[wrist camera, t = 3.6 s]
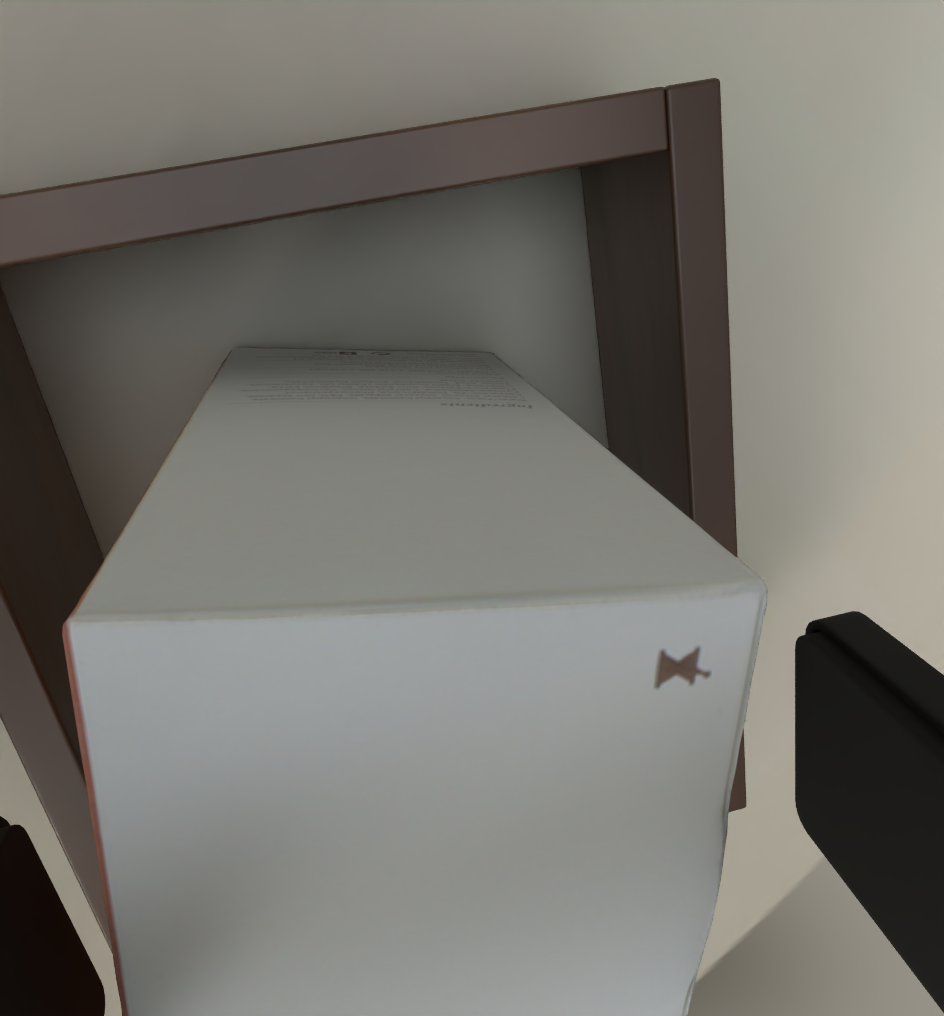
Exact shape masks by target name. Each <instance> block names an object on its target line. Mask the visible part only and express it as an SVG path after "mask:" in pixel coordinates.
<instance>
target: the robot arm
mask: <svg viewBox="0 0 944 1016" xmlns="http://www.w3.org/2000/svg"><path fill="white" fill-rule="evenodd" d="M795 801H796V808H797V812H798V815H799V818H800V821H801V823H802V825H803V827H804V829H805V830H806V832H807V833H808V835H809V836H810V837H811V839H812V840H813V841H814V842H815V844H816V845H817V846H818V848H819V849H820V850H821V852H822V853H823V854H824V856H825V857H826V858H827V860H828V861H829V862H830V864H831V865H832V866H833V868H834V869H835V870H836V871H837V873H838V874H839V875H840V877H841V878H842V879H843V881H844V882H845V883H846V885H847V886H848V887H849V888H850V890H851V891H852V893H853V894H854V895H855V897H856V898H857V899H858V900H859V902H860V903H861V904H862V906H863V907H864V908H865V910H866V911H867V912H868V913H869V915H870V916H871V917H872V919H873V920H874V922H875V923H876V924H877V925H878V927H879V928H880V929H881V931H882V932H883V933H884V935H885V936H886V937H887V939H888V940H889V941H890V942H891V944H892V945H893V947H894V948H895V949H896V951H897V952H898V953H899V954H900V956H901V957H902V958H903V960H904V961H905V962H906V964H907V965H908V966H909V968H910V969H911V970H912V971H913V973H914V974H915V976H916V977H917V978H918V980H919V981H920V982H921V983H922V985H923V986H924V987H925V989H926V990H927V991H928V993H929V994H930V995H931V996H932V998H933V999H934V1001H935V1002H936V1003H937V1005H938V1006H939V1007H940V1008H941V1010H942V1011H943V1012H944V675H943V674H941V673H940V672H939V671H937V670H936V669H935V668H933V667H932V666H931V665H930V664H928V663H927V662H926V661H924V660H923V659H922V658H920V657H919V656H918V655H916V654H915V653H914V652H913V651H911V650H910V649H909V648H907V647H906V646H905V645H903V644H902V643H901V642H900V641H898V640H897V639H896V638H894V637H893V636H892V635H890V634H889V633H888V632H886V631H885V630H884V629H883V628H881V627H880V626H879V625H877V624H876V623H875V622H873V621H872V620H871V619H870V618H868V617H867V616H866V615H864V614H862V613H860V612H855V611H852V612H848V613H844V614H839V615H835V616H831V617H827V618H823V619H819V620H814V621H812V622H810V623H809V624H808V626H807V628H806V634H805V635H803V636H800V637H799V638H798V639H797V641H796V646H795ZM104 1013H105V994H104V988H103V985H102V982H101V980H100V978H99V976H98V974H97V972H96V970H95V968H94V966H93V964H92V962H91V960H90V958H89V956H88V954H87V952H86V950H85V948H84V946H83V944H82V942H81V940H80V938H79V936H78V934H77V932H76V930H75V928H74V926H73V924H72V922H71V920H70V918H69V916H68V914H67V912H66V910H65V908H64V906H63V904H62V902H61V900H60V898H59V896H58V894H57V892H56V890H55V888H54V886H53V884H52V882H51V880H50V878H49V876H48V874H47V872H46V870H45V868H44V866H43V864H42V862H41V860H40V858H39V856H38V854H37V852H36V849H35V847H34V845H33V843H32V841H31V839H30V837H29V835H28V833H27V832H26V830H25V829H24V828H23V827H22V826H20V825H11V826H10V824H9V823H8V821H7V820H5V819H4V818H3V817H1V816H0V1016H104Z"/></svg>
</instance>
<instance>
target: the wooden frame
mask: <svg viewBox="0 0 944 1016" xmlns="http://www.w3.org/2000/svg"><path fill="white" fill-rule="evenodd" d="M577 167H581V169H582V180H583V190H584V200H585V210H586V220H587V230H588V240H589V250H590V260H591V270H592V280H593V290H594V300H595V310H596V320H597V330H598V340H599V351H600V361H601V371H602V381H603V391H604V401H605V411H606V421H607V431H608V441H609V451H610V452H611V453H612V454H613V455H614V456H616V457H617V458H618V459H619V460H620V461H622V462H623V463H624V464H625V465H626V466H628V467H629V468H630V469H631V470H632V471H634V472H635V473H636V474H637V475H638V476H640V477H641V478H642V479H643V480H644V481H646V482H647V483H648V484H649V485H650V486H652V487H653V488H654V489H655V490H656V491H658V492H659V493H660V494H661V495H662V496H664V497H665V498H666V499H667V500H668V501H670V502H671V503H672V504H673V505H674V506H676V507H677V508H678V509H679V510H680V511H682V512H683V513H684V514H685V515H686V516H688V517H689V518H690V519H691V520H692V521H694V522H695V523H696V524H697V525H698V526H699V527H701V528H702V529H703V530H704V531H705V532H706V533H708V534H709V535H710V536H711V537H712V538H713V539H715V540H716V541H717V542H718V543H719V544H720V545H722V546H723V547H724V548H725V549H726V550H728V551H729V552H730V553H732V554H733V555H734V556H735V557H737V536H736V509H735V481H734V454H733V426H732V399H731V371H730V344H729V316H728V289H727V261H726V234H725V206H724V179H723V151H722V124H721V96H720V81H719V79H717V78H711V79H705V80H699V81H693V82H687V83H681V84H675V85H669V86H666V87H656V88H650V89H643V90H637V91H631V92H625V93H619V94H613V95H607V96H601V97H595V98H589V99H583V100H577V101H570V102H564V103H558V104H552V105H546V106H540V107H534V108H528V109H522V110H516V111H510V112H504V113H497V114H491V115H485V116H479V117H473V118H467V119H461V120H455V121H449V122H443V123H437V124H431V125H424V126H418V127H412V128H406V129H400V130H394V131H388V132H382V133H376V134H370V135H364V136H357V137H351V138H345V139H339V140H333V141H327V142H321V143H315V144H309V145H303V146H297V147H291V148H284V149H278V150H272V151H266V152H260V153H254V154H248V155H242V156H236V157H230V158H224V159H218V160H211V161H205V162H199V163H193V164H187V165H181V166H175V167H169V168H163V169H157V170H151V171H145V172H138V173H132V174H126V175H120V176H114V177H108V178H102V179H96V180H90V181H84V182H78V183H72V184H65V185H59V186H53V187H47V188H41V189H35V190H29V191H23V192H17V193H11V194H5V195H0V268H3V267H8V266H14V265H20V264H26V263H31V262H37V261H43V260H49V259H54V258H60V257H66V256H72V255H77V254H83V253H89V252H95V251H100V250H106V249H112V248H117V247H123V246H129V245H135V244H140V243H146V242H152V241H158V240H163V239H169V238H175V237H181V236H186V235H192V234H198V233H204V232H209V231H215V230H221V229H227V228H232V227H238V226H244V225H250V224H255V223H261V222H267V221H272V220H278V219H284V218H290V217H295V216H301V215H307V214H313V213H318V212H324V211H330V210H336V209H341V208H347V207H353V206H359V205H364V204H370V203H376V202H382V201H387V200H393V199H399V198H405V197H410V196H416V195H422V194H428V193H433V192H439V191H445V190H450V189H456V188H462V187H468V186H473V185H479V184H485V183H491V182H496V181H502V180H508V179H514V178H519V177H525V176H531V175H537V174H542V173H548V172H554V171H560V170H565V169H571V168H577ZM103 562H104V560H103V558H102V555H101V552H100V550H99V547H98V544H97V542H96V539H95V537H94V534H93V531H92V529H91V526H90V523H89V521H88V518H87V515H86V513H85V510H84V507H83V505H82V502H81V499H80V497H79V494H78V492H77V489H76V486H75V484H74V481H73V478H72V476H71V473H70V470H69V468H68V465H67V462H66V460H65V457H64V455H63V452H62V449H61V447H60V444H59V441H58V439H57V436H56V433H55V431H54V428H53V425H52V423H51V420H50V417H49V415H48V412H47V410H46V407H45V404H44V402H43V399H42V396H41V394H40V391H39V388H38V386H37V383H36V380H35V378H34V375H33V373H32V370H31V367H30V365H29V362H28V359H27V357H26V354H25V351H24V349H23V346H22V343H21V341H20V338H19V336H18V333H17V330H16V328H15V325H14V322H13V320H12V317H11V314H10V312H9V309H8V306H7V304H6V301H5V298H4V296H3V293H2V291H1V288H0V717H1V719H2V721H3V724H4V726H5V728H6V730H7V732H8V734H9V736H10V738H11V740H12V743H13V745H14V747H15V749H16V751H17V753H18V755H19V757H20V759H21V762H22V764H23V766H24V768H25V770H26V772H27V774H28V776H29V778H30V781H31V783H32V785H33V787H34V789H35V791H36V793H37V795H38V797H39V800H40V802H41V804H42V806H43V808H44V810H45V812H46V814H47V816H48V819H49V821H50V823H51V825H52V827H53V829H54V831H55V833H56V835H57V838H58V840H59V842H60V844H61V846H62V848H63V850H64V852H65V854H66V857H67V859H68V861H69V863H70V865H71V867H72V869H73V871H74V873H75V876H76V878H77V880H78V882H79V884H80V886H81V888H82V890H83V892H84V895H85V897H86V899H87V901H88V903H89V905H90V907H91V909H92V911H93V914H94V916H95V918H96V920H97V922H98V924H99V926H100V928H101V930H102V933H103V935H104V937H105V939H106V941H107V943H108V945H109V947H110V949H111V952H112V944H111V938H110V932H109V926H108V921H107V915H106V909H105V903H104V897H103V890H102V883H101V877H100V870H99V863H98V857H97V850H96V844H95V838H94V832H93V826H92V820H91V813H90V807H89V800H88V794H87V788H86V781H85V775H84V769H83V763H82V757H81V751H80V745H79V739H78V732H77V726H76V720H75V714H74V707H73V701H72V695H71V688H70V682H69V675H68V669H67V662H66V656H65V649H64V643H63V637H62V632H63V624H64V623H65V621H66V620H67V618H68V617H69V616H70V614H71V613H72V611H73V610H74V609H75V607H76V606H77V604H78V602H79V600H80V598H81V596H82V594H83V593H84V591H85V590H86V588H87V587H88V585H89V584H90V582H91V581H92V579H93V578H94V576H95V574H96V573H97V571H98V570H99V568H100V567H101V565H102V563H103ZM745 807H746V784H745V757H744V729H743V732H742V737H741V742H740V747H739V753H738V759H737V765H736V771H735V776H734V781H733V786H732V791H731V797H730V804H729V811H728V812H731V811H735V810H738V809H742V808H745ZM112 954H113V952H112Z"/></svg>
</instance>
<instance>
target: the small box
mask: <svg viewBox="0 0 944 1016" xmlns="http://www.w3.org/2000/svg"><path fill="white" fill-rule="evenodd" d="M767 593H768V591H767V588H766V584H765V581H764V580H763V579H762V578H761V577H760V576H758V575H757V574H756V573H755V572H754V571H752V570H751V569H750V568H749V567H748V566H746V565H745V564H744V563H743V562H741V561H740V560H739V559H738V558H737V557H735V556H734V555H733V554H732V553H730V552H729V551H728V550H726V549H725V548H724V547H723V546H722V545H720V544H719V543H718V542H717V541H716V540H715V539H713V538H712V537H711V536H710V535H709V534H708V533H706V532H705V531H704V530H703V529H702V528H701V527H699V526H698V525H697V524H696V523H695V522H694V521H692V520H691V519H690V518H689V517H688V516H686V515H685V514H684V513H683V512H682V511H680V510H679V509H678V508H677V507H676V506H674V505H673V504H672V503H671V502H670V501H668V500H667V499H666V498H665V497H664V496H662V495H661V494H660V493H659V492H658V491H656V490H655V489H654V488H653V487H652V486H650V485H649V484H648V483H647V482H646V481H644V480H643V479H642V478H641V477H640V476H638V475H637V474H636V473H635V472H634V471H632V470H631V469H630V468H629V467H628V466H626V465H625V464H624V463H623V462H622V461H620V460H619V459H618V458H617V457H616V456H614V455H613V454H612V453H611V452H610V451H609V450H607V449H606V448H605V447H604V446H603V445H601V444H600V443H599V442H598V441H597V440H595V439H594V438H593V437H592V436H591V435H589V434H588V433H587V432H586V431H585V430H584V429H582V428H581V427H580V426H579V425H578V424H576V423H575V422H574V421H573V420H572V419H571V418H570V417H568V416H567V415H566V414H564V413H563V412H562V411H561V410H560V409H559V408H558V407H557V406H555V405H554V404H553V403H552V402H551V401H549V400H548V399H547V398H546V397H545V396H544V395H542V394H541V393H540V392H539V391H538V390H536V389H535V388H534V387H533V386H532V385H530V384H529V383H528V382H527V381H525V380H524V379H523V378H522V377H521V376H520V375H519V374H517V373H516V372H514V371H513V370H512V369H511V368H510V367H509V366H507V365H506V364H505V363H504V362H503V361H502V360H500V359H499V358H498V357H497V356H495V355H494V354H493V353H491V352H423V351H362V350H318V349H277V348H234V349H232V350H231V351H230V352H229V354H228V356H227V358H226V359H225V360H224V362H223V363H222V365H221V367H220V369H219V371H218V372H217V374H216V376H215V377H214V379H213V381H212V383H211V384H210V386H209V388H208V389H207V391H206V393H205V394H204V396H203V398H202V399H201V401H200V403H199V404H198V406H197V408H196V409H195V411H194V413H193V414H192V416H191V417H190V419H189V421H188V422H187V424H186V425H185V427H184V428H183V430H182V432H181V434H180V435H179V436H178V438H177V440H176V442H175V443H174V445H173V447H172V448H171V450H170V452H169V453H168V455H167V457H166V458H165V460H164V462H163V464H162V465H161V467H160V468H159V470H158V472H157V473H156V475H155V477H154V478H153V480H152V482H151V483H150V485H149V487H148V488H147V490H146V492H145V494H144V495H143V497H142V499H141V500H140V502H139V504H138V506H137V507H136V509H135V511H134V512H133V514H132V515H131V517H130V519H129V520H128V522H127V524H126V525H125V527H124V529H123V530H122V532H121V534H120V535H119V537H118V539H117V540H116V542H115V543H114V545H113V547H112V549H111V550H110V552H109V554H108V555H107V557H106V559H105V560H104V562H103V563H102V565H101V567H100V568H99V570H98V571H97V573H96V574H95V576H94V578H93V579H92V581H91V582H90V584H89V585H88V587H87V588H86V590H85V591H84V593H83V594H82V596H81V598H80V600H79V602H78V604H77V606H76V607H75V609H74V610H73V611H72V613H71V614H70V616H69V617H68V618H67V620H66V621H65V623H64V624H63V632H62V637H63V643H64V649H65V656H66V662H67V669H68V675H69V682H70V688H71V695H72V701H73V707H74V714H75V720H76V726H77V732H78V739H79V745H80V751H81V757H82V763H83V769H84V775H85V781H86V788H87V794H88V800H89V807H90V813H91V820H92V826H93V832H94V838H95V844H96V850H97V857H98V863H99V870H100V877H101V883H102V890H103V897H104V903H105V909H106V915H107V921H108V926H109V932H110V938H111V944H112V952H113V960H114V967H115V974H116V980H117V985H118V991H119V996H120V1001H121V1008H122V1016H687V1014H688V1009H689V1004H690V1000H691V996H692V992H693V988H694V984H695V979H696V975H697V971H698V968H699V964H700V961H701V958H702V954H703V951H704V948H705V944H706V941H707V938H708V934H709V931H710V927H711V924H712V921H713V916H714V911H715V906H716V901H717V896H718V892H719V887H720V882H721V874H722V866H723V858H724V850H725V843H726V837H727V822H728V811H729V804H730V797H731V791H732V786H733V781H734V776H735V771H736V765H737V759H738V753H739V747H740V742H741V737H742V732H743V727H744V723H745V718H746V712H747V705H748V699H749V693H750V686H751V680H752V675H753V670H754V665H755V660H756V655H757V650H758V645H759V639H760V634H761V628H762V624H763V619H764V615H765V610H766V606H767Z"/></svg>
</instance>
